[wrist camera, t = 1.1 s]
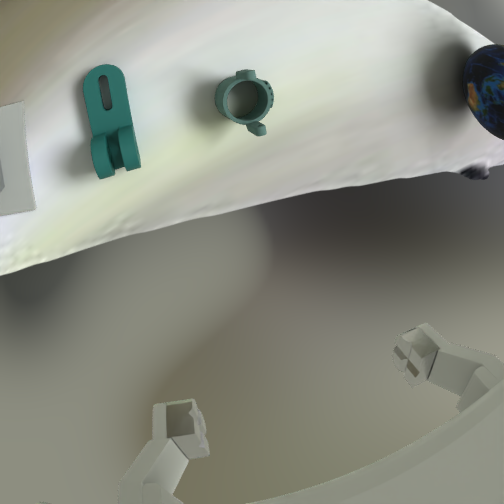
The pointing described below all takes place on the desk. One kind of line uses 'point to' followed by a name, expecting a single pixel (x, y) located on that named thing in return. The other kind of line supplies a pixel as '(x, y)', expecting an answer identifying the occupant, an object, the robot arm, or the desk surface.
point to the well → (14, 162)
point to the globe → (486, 87)
